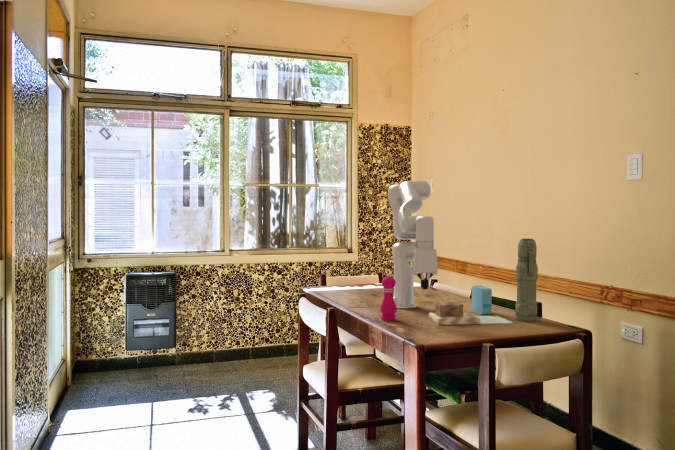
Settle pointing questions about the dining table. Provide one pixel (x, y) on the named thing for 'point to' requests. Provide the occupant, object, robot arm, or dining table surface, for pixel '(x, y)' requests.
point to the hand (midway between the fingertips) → (424, 289)
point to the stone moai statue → (526, 281)
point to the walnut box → (449, 309)
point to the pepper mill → (388, 299)
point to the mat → (493, 320)
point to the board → (455, 319)
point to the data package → (481, 300)
